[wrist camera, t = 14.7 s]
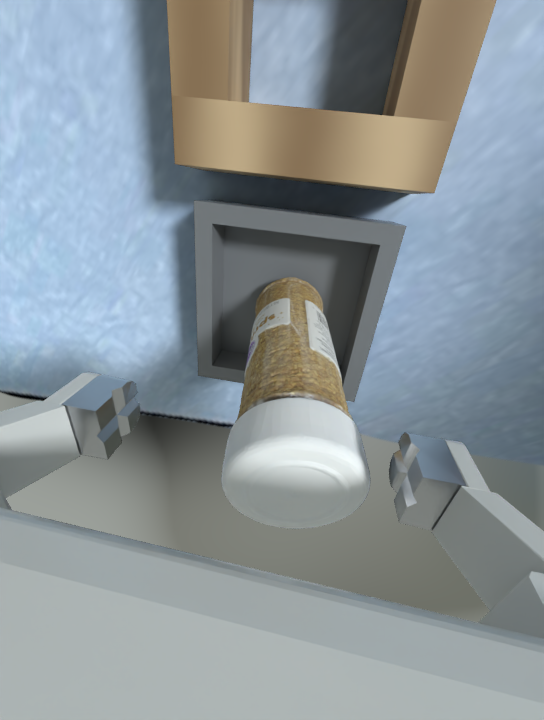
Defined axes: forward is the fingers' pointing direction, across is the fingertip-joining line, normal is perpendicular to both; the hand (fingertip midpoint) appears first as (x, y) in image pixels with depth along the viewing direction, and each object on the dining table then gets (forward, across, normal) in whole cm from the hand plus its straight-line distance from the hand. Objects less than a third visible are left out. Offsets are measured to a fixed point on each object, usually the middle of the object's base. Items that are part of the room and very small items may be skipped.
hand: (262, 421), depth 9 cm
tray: (+13, +1, 0) cm, 13 cm away
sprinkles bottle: (+12, 0, +1) cm, 12 cm away
